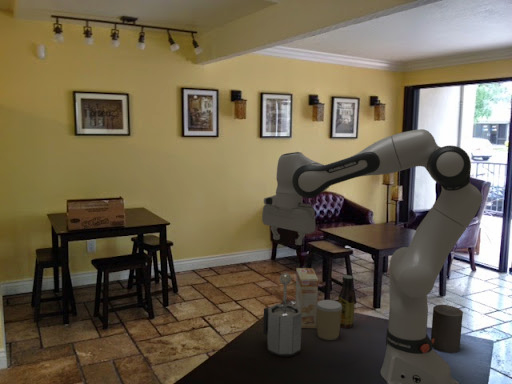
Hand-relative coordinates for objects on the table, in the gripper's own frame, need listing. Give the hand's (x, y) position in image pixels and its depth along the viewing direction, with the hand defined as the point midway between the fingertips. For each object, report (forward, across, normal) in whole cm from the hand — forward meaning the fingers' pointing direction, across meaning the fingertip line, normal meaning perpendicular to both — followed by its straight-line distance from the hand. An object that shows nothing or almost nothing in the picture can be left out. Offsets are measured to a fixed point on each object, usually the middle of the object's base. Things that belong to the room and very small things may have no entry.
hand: (287, 242), depth 150 cm
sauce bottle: (+38, -5, -32) cm, 50 cm away
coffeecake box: (+38, +9, -25) cm, 46 cm away
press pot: (+38, +1, 0) cm, 38 cm away
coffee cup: (+38, -5, -20) cm, 43 cm away
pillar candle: (+37, -40, -41) cm, 68 cm away
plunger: (+25, 0, 0) cm, 25 cm away
